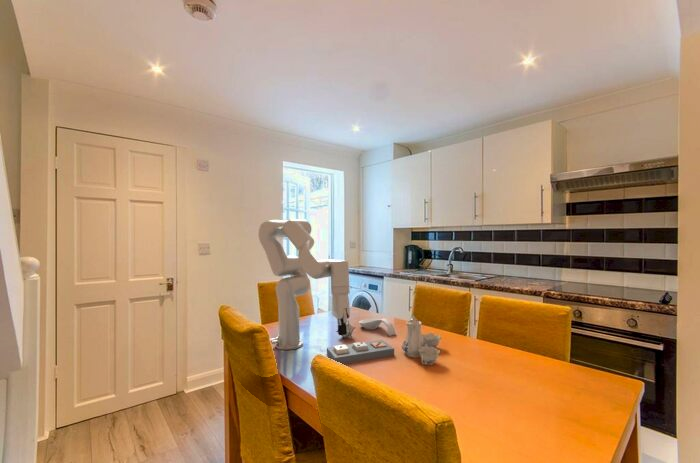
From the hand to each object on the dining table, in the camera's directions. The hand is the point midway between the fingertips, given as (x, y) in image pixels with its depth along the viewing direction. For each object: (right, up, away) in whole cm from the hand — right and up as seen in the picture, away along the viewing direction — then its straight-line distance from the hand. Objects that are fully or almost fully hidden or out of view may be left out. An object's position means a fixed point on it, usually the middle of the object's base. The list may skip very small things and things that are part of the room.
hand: (342, 334), depth 134 cm
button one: (0, -8, 0) cm, 8 cm away
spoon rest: (+18, -10, +38) cm, 43 cm away
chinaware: (+34, -10, +3) cm, 35 cm away
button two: (+8, -8, +3) cm, 11 cm away
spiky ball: (+1, -10, +27) cm, 29 cm away
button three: (+16, -9, +6) cm, 19 cm away
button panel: (+8, -10, +3) cm, 13 cm away
